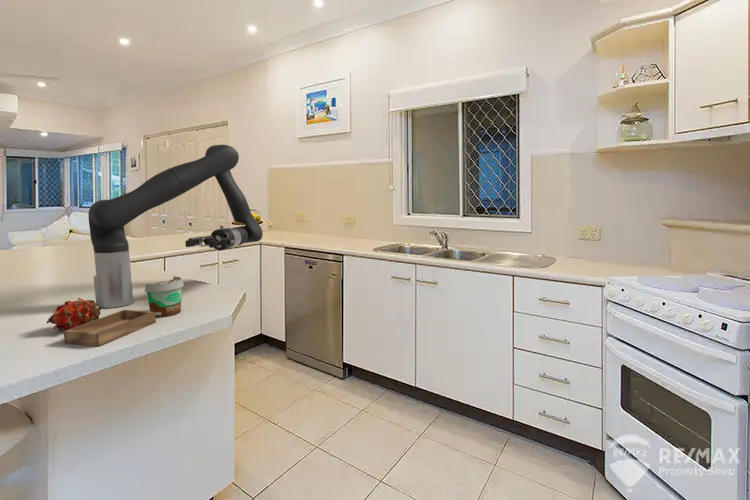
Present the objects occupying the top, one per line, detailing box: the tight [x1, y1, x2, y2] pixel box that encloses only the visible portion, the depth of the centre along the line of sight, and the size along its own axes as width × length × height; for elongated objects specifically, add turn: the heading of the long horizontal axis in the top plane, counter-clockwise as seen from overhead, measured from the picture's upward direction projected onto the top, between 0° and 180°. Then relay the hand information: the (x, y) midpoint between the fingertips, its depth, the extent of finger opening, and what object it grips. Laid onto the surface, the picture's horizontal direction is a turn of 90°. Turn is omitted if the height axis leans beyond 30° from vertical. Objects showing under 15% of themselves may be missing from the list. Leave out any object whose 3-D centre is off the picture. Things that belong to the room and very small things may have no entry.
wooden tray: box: [62, 309, 157, 347], centre depth 101 cm, size 10×18×3 cm, turn 169°
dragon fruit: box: [46, 297, 102, 332], centre depth 103 cm, size 8×8×12 cm
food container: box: [144, 275, 185, 319], centre depth 116 cm, size 12×6×10 cm, turn 168°
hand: (198, 244), depth 128 cm, fingers open, 8 cm apart
